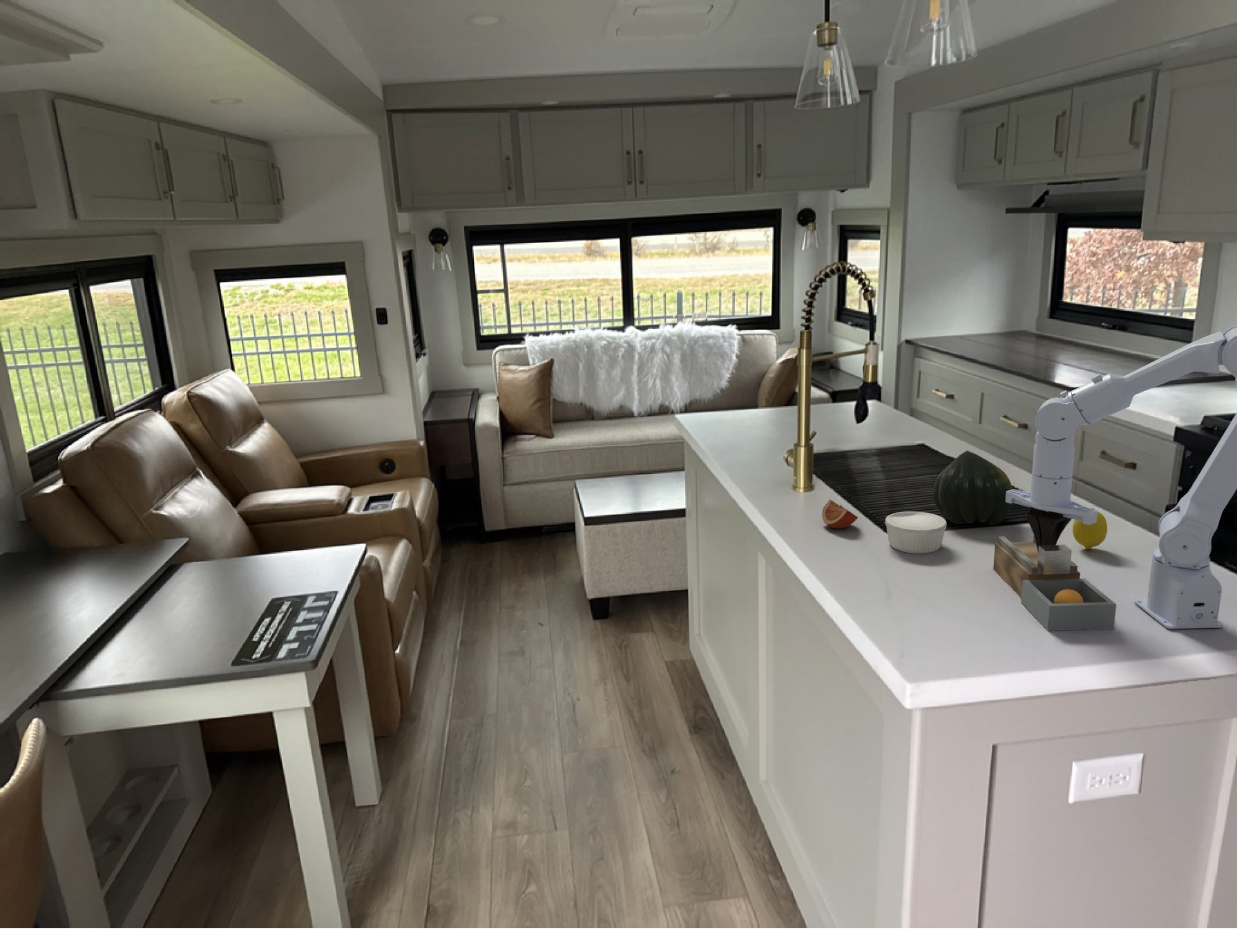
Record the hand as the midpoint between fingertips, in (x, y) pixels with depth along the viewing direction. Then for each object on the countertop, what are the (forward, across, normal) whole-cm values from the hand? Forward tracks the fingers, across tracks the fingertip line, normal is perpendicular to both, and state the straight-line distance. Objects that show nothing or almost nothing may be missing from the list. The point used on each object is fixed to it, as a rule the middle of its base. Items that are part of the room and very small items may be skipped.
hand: (1045, 554), depth 134 cm
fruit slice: (+7, +44, +3) cm, 45 cm away
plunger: (+2, -3, +2) cm, 3 cm away
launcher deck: (+7, +3, -2) cm, 8 cm away
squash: (+7, +30, -20) cm, 37 cm away
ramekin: (+7, +27, -1) cm, 28 cm away
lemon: (+7, +7, -23) cm, 25 cm away
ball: (+4, -8, +5) cm, 10 cm away
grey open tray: (+7, -7, +4) cm, 11 cm away
